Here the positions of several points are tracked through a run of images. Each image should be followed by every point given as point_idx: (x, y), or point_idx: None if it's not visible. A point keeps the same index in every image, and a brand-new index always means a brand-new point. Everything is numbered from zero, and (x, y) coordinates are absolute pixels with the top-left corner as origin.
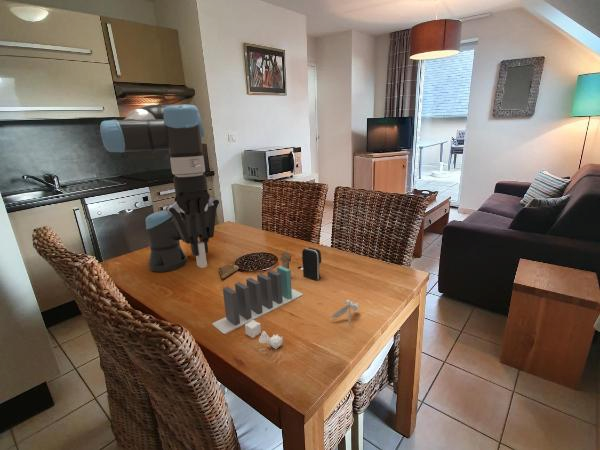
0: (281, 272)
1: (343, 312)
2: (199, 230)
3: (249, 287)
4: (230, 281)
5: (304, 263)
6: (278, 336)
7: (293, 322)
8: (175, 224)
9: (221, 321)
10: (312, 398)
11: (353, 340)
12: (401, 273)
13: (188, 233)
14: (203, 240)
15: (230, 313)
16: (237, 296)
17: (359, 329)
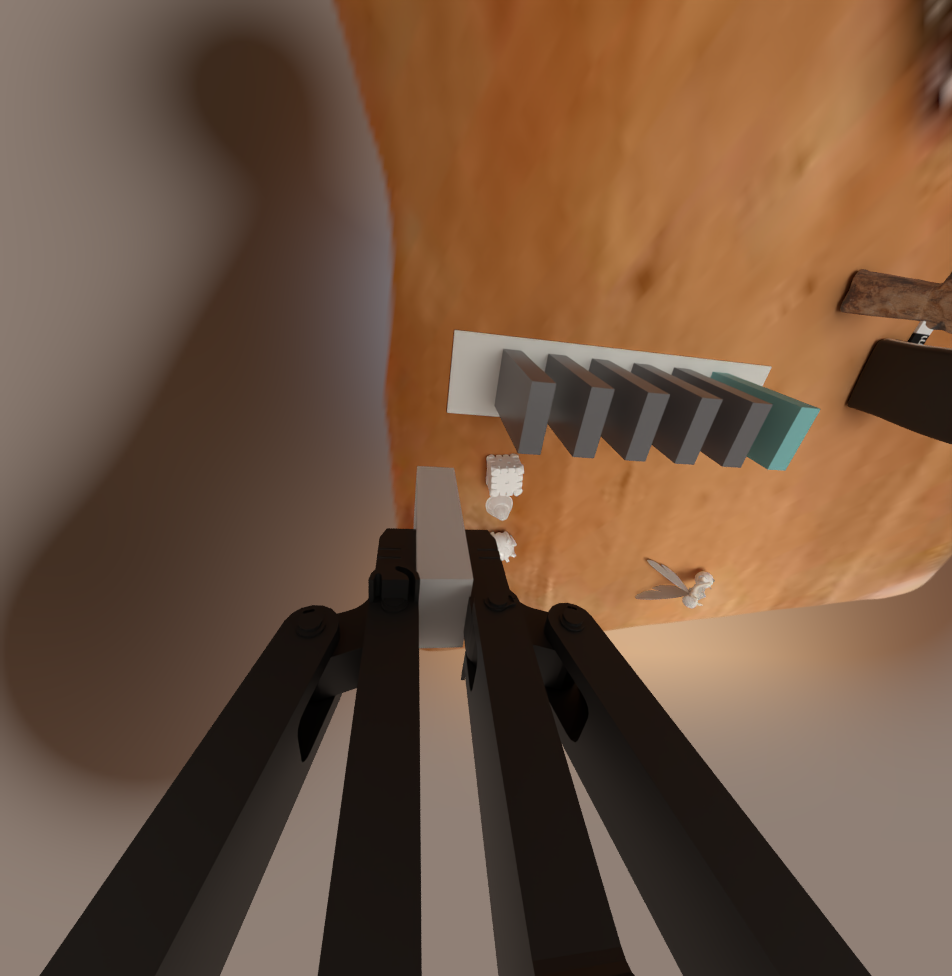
0: (773, 430)
1: (672, 574)
2: (481, 711)
3: (626, 402)
4: (773, 18)
5: (934, 364)
6: (508, 556)
7: (593, 506)
8: (97, 900)
9: (482, 348)
10: (438, 648)
11: (596, 617)
12: (917, 555)
13: (358, 678)
14: (464, 660)
15: (504, 393)
16: (569, 382)
17: (633, 607)
